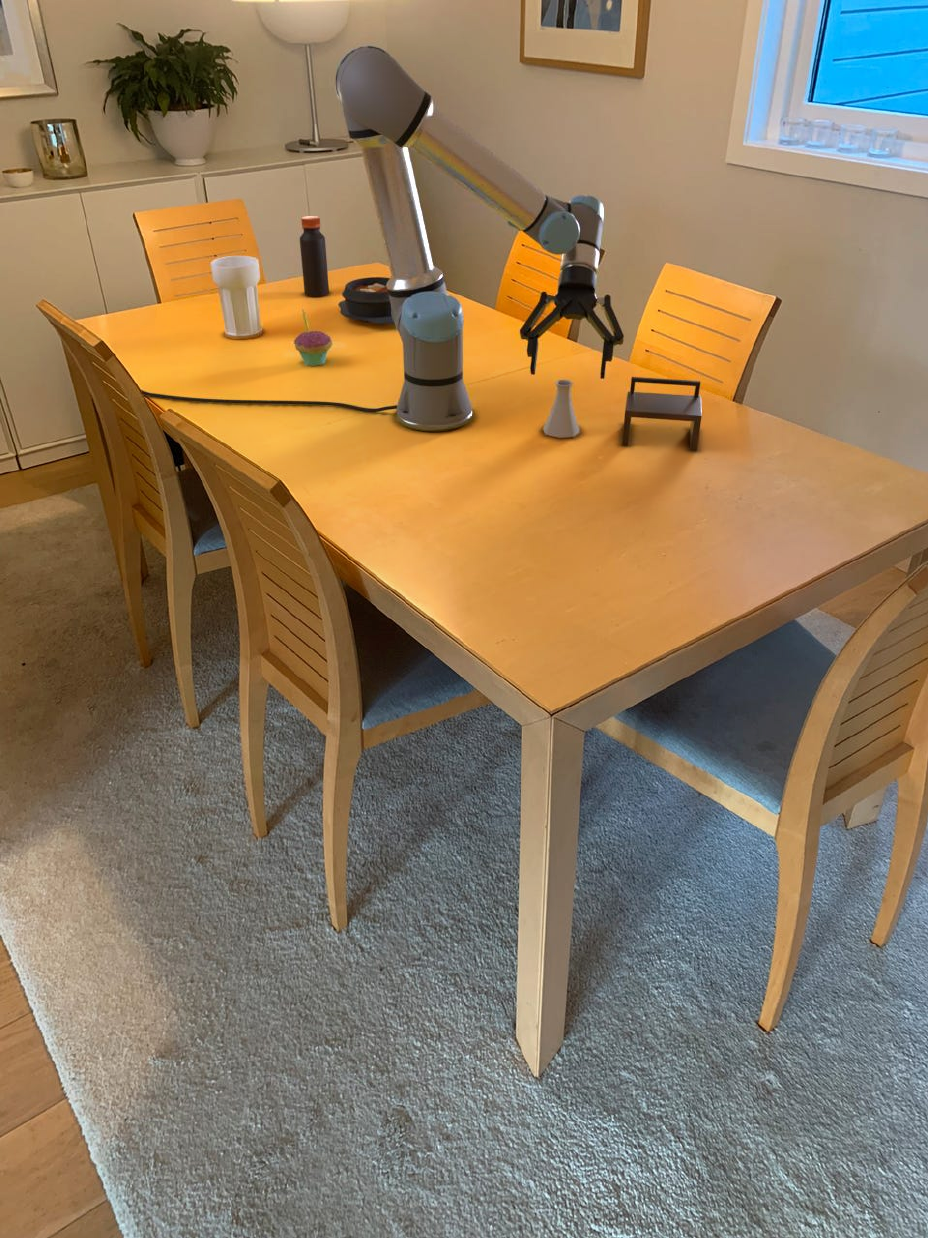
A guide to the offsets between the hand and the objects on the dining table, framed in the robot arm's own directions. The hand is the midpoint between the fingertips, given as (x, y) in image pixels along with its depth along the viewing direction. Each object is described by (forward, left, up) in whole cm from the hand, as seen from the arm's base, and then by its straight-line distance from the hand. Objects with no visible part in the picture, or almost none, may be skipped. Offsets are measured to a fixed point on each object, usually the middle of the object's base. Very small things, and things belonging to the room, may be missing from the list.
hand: (567, 373), depth 187 cm
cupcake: (-60, +25, -10) cm, 66 cm away
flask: (0, -5, -10) cm, 11 cm away
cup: (-84, +42, -10) cm, 94 cm away
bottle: (-77, +79, -10) cm, 111 cm away
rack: (+19, -4, -10) cm, 22 cm away
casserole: (-55, +61, -10) cm, 83 cm away
